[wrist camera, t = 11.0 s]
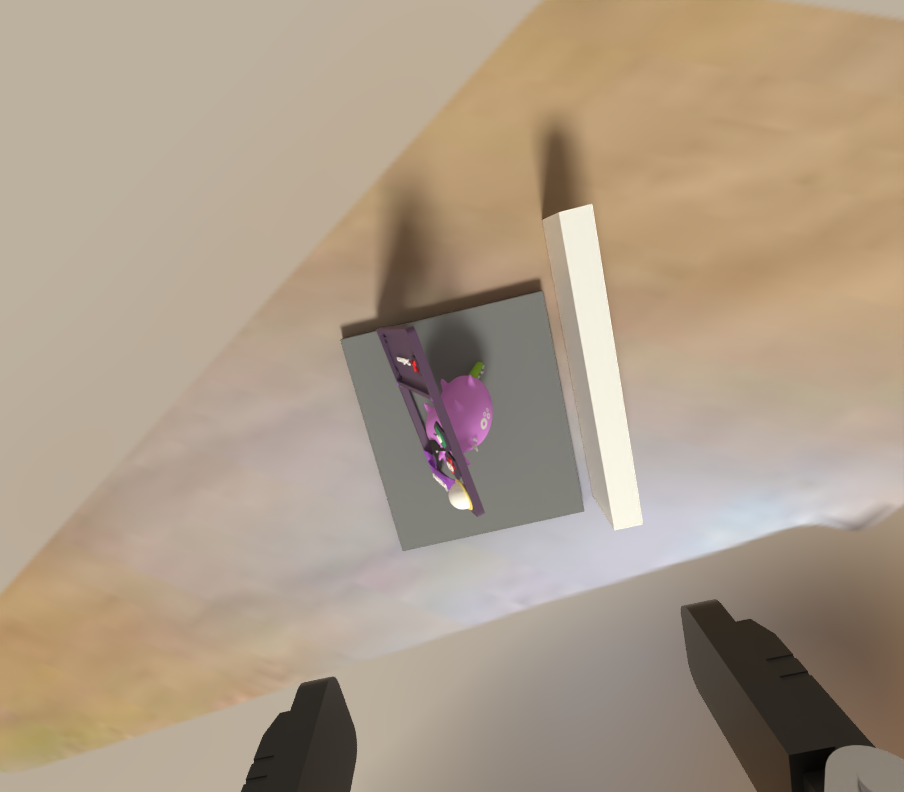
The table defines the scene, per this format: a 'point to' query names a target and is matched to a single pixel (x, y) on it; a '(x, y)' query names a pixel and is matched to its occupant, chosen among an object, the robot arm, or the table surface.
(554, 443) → the rubber mat
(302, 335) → the table surface
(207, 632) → the table surface
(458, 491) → the purple framed toy figure
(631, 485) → the low wall
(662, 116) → the table surface
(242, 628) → the table surface
